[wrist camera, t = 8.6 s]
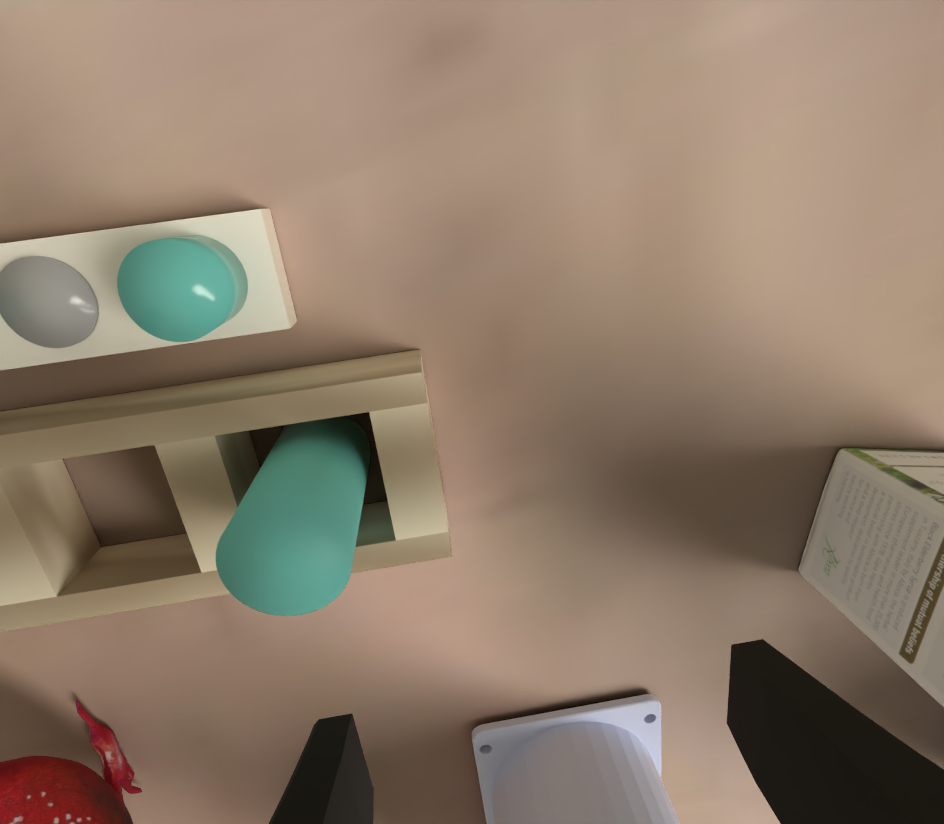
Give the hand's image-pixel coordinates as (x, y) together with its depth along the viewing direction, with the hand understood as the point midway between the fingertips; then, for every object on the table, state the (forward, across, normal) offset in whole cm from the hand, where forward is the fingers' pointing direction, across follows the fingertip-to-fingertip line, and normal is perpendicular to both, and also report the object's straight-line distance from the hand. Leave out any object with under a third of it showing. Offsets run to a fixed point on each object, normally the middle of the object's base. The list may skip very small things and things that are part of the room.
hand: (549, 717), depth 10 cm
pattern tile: (+9, +11, -8) cm, 17 cm away
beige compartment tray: (+9, +11, -2) cm, 15 cm away
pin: (+9, +5, -2) cm, 11 cm away
